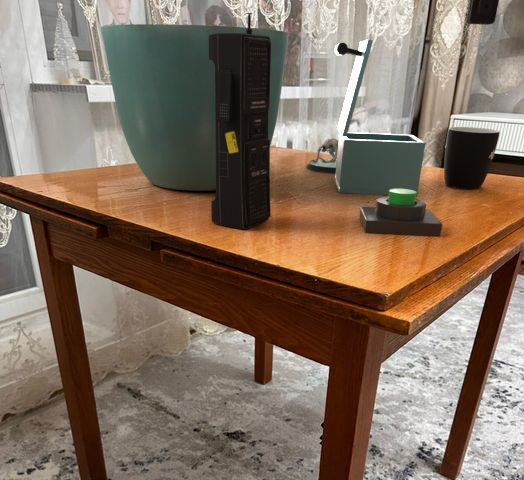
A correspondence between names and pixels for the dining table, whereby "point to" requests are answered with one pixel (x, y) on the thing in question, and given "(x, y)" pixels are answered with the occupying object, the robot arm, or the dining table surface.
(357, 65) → the box lid
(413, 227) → the block
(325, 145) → the figurine
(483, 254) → the dining table surface
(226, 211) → the portable radio
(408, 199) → the button
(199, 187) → the flower pot
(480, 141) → the mug
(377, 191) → the teal open box
